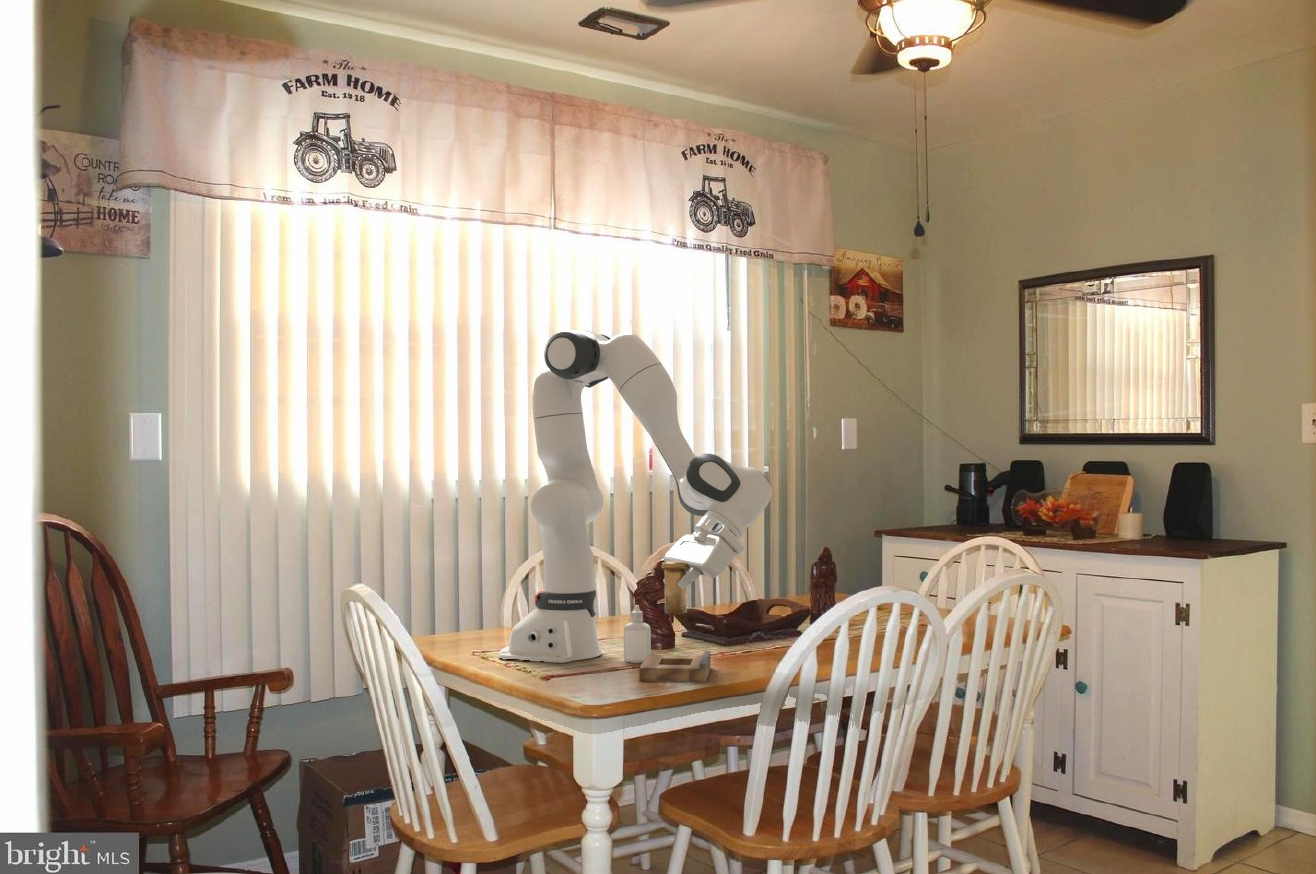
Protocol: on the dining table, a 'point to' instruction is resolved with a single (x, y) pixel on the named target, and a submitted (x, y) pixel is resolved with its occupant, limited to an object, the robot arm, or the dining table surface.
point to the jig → (675, 668)
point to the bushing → (674, 587)
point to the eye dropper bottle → (637, 638)
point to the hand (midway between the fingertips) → (672, 585)
